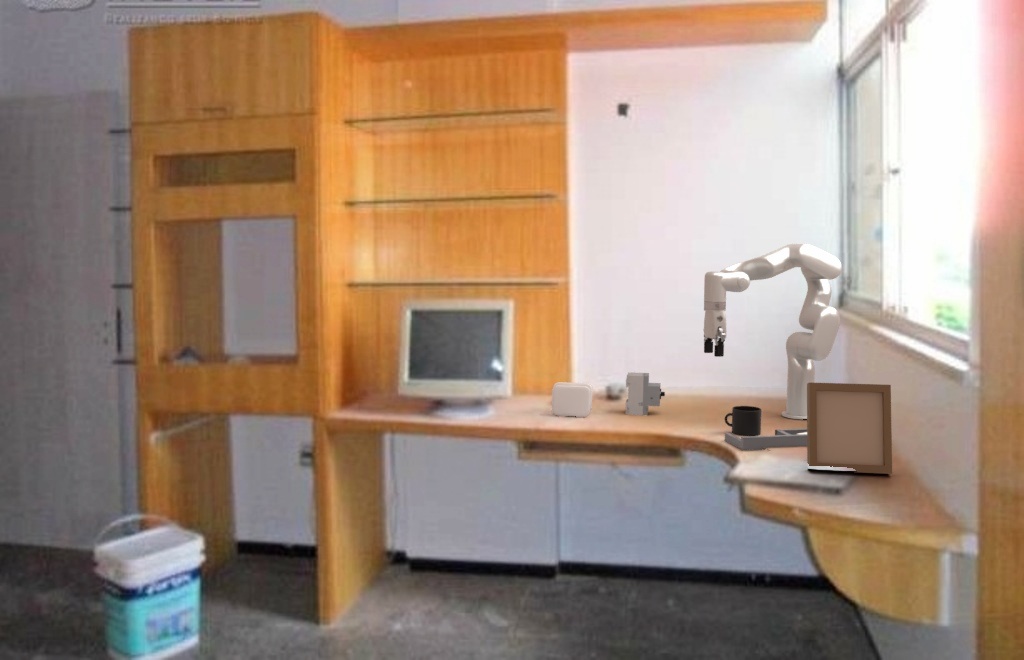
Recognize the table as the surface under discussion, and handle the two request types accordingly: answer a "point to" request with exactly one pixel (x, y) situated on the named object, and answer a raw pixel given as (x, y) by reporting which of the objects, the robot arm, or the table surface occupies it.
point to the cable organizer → (571, 399)
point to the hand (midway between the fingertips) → (713, 354)
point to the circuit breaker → (641, 393)
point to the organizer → (770, 440)
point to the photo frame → (849, 426)
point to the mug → (745, 420)
